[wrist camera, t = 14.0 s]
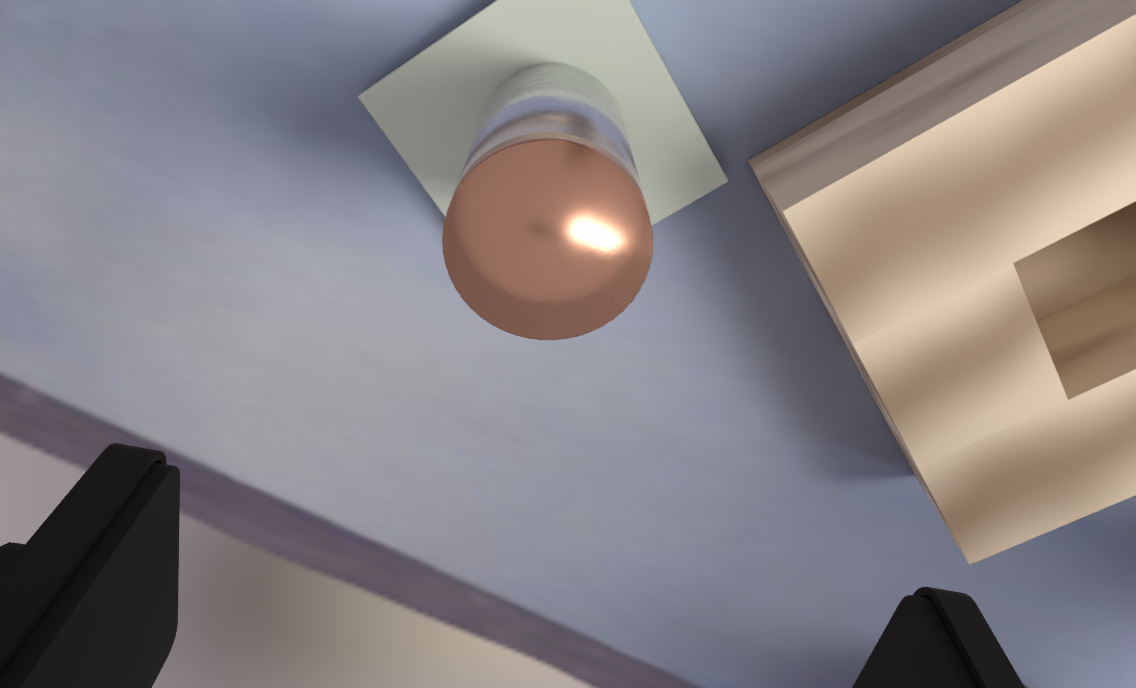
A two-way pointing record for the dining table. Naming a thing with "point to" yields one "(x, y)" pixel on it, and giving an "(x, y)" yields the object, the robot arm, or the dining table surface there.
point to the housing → (987, 262)
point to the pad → (529, 37)
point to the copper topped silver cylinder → (549, 209)
